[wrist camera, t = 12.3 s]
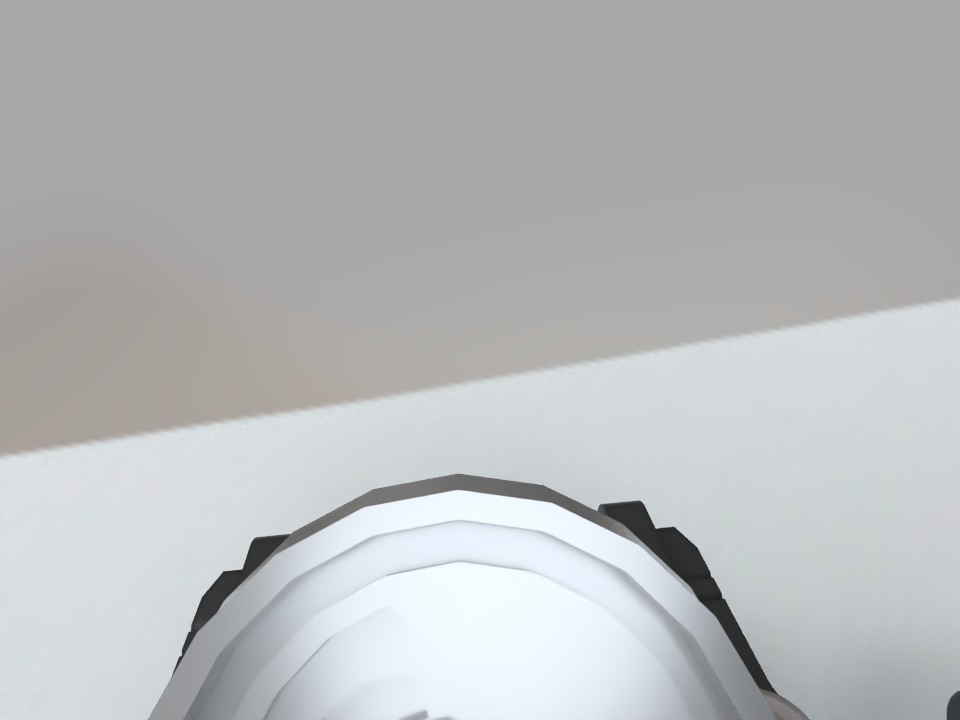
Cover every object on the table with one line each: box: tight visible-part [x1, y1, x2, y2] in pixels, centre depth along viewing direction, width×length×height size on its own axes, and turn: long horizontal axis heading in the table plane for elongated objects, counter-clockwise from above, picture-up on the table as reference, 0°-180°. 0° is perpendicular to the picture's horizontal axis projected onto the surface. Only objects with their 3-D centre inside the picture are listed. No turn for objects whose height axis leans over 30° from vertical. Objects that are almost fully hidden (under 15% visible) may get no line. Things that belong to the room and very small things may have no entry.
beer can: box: [148, 474, 776, 720], centre depth 10 cm, size 5×5×12 cm
